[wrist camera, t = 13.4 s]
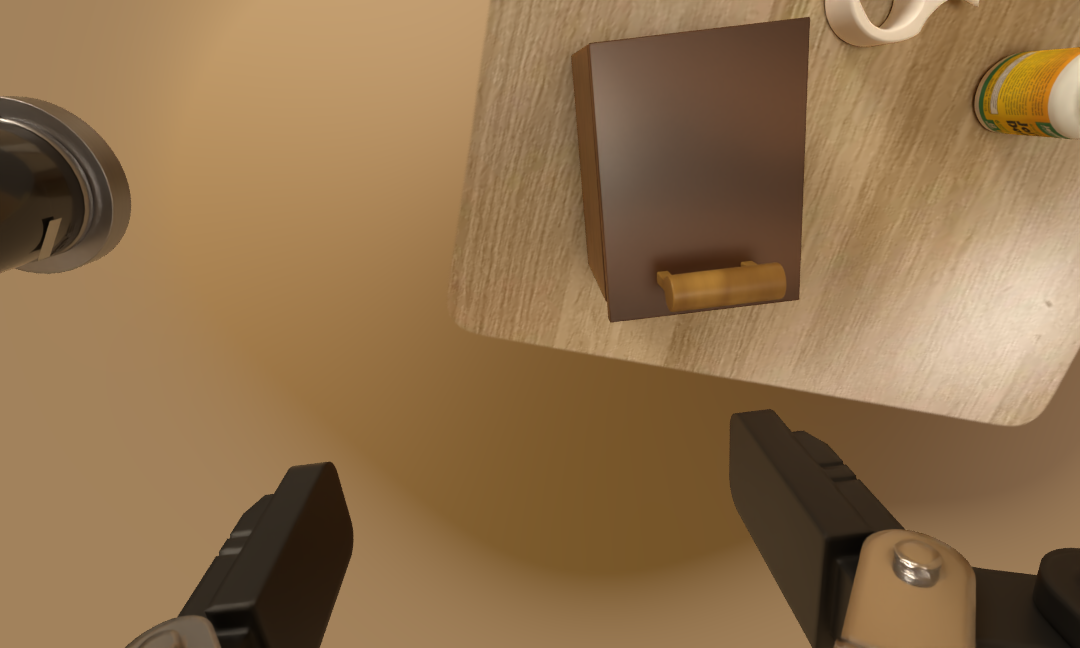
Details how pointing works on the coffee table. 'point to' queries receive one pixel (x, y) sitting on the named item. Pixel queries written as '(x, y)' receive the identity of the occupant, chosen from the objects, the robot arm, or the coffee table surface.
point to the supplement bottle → (1032, 94)
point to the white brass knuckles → (902, 23)
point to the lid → (701, 167)
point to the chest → (588, 165)
